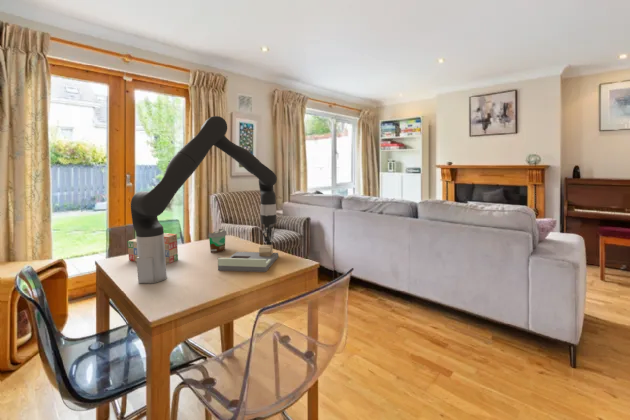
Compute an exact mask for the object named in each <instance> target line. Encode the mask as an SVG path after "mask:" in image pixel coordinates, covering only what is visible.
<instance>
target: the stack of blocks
mask: <svg viewBox="0 0 630 420" xmlns="http://www.w3.org/2000/svg"><path fill="white" fill-rule="evenodd" d="M126 242H127V252H128V253H127V254H128V261H129V260H131V261H130V262H132V261H133V262H137V260H136V258H137V257H138V254H137V241H136V238H133V239H130V240H128V241H126ZM164 245H165V259H166V264H172V263H174V262H177V261H178V260H179V253H178V234H177V233H171V232H169V233H167V232H166V233H165V232H164Z"/></svg>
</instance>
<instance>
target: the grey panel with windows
mask: <svg viewBox="0 0 630 420" xmlns="http://www.w3.org/2000/svg"><path fill="white" fill-rule="evenodd" d="M278 258H279V252H273V254H272V255H271V256H259V251H258V252H255V251H235V253H233V254H231V256H229V257H218V258H217V271H224V272H225V271H228V272H231V271H232V272H258V273H259V272H260V273H261V272H262V273H266V272H267V271H268V270H269V269H270V268H271V266H273V264H274V263H275V262H276V261H277V260H278ZM269 267H270V268H269Z"/></svg>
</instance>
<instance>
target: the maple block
mask: <svg viewBox="0 0 630 420" xmlns="http://www.w3.org/2000/svg"><path fill="white" fill-rule="evenodd" d="M258 252H259V256H271V255H272V254H273V253H274V246H273V244H272V245H267V244H262V245H260V246H258Z"/></svg>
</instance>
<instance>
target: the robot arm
mask: <svg viewBox="0 0 630 420" xmlns="http://www.w3.org/2000/svg"><path fill="white" fill-rule="evenodd" d="M227 132H228V124H227V121H226V119H224V118H223V117H222V116H218V115H214V116H210V117H209V118H207V119H206V120H205V122H203V124H202V125H201V127H200V130H199V131H198V133H197V134H196V135H195V136H194V137H193V138H191V140H190V141H188V142H187V143H186V144H185V145H183V147H182V148H180V149H179V151H178V152H176V154H175V155H173V157H172V158H171V159H170V161H169V163H168V164H167V166H166V169H165V172H164V175H163V177H162V178H161V180H160V181H159V182H158V183H156V185H155V186H154V187H153V188H152V189H151V190H150V191H147V190H146V191H145V190H142V191H138V192H136V193H135V194H134V195H133V196H132V198H131V200H130V214H131V221H132V227H133V230H134V231H135V239H136V241H137V254H138V257H137V258H136V260H137V261H136V273H137V280H138V281H137V283H138V284H156V283H159V282H162V281H165V280H166V279H167V277H168V275H167V265H166V264H167V263H166V259H165V245H164V233H165V232H164V231H165V230H164V226H163V225H162V224H161V223H160V221H159V220H158V216H160V215H162V214H163V213H164V211H165V210H167V207H168V205H169V204H170V202H171V201H172V200H173V198H174V197H175V195H176V194H177V193H178V191H179V190H180V189H181V187H182V186H184V184H185V183H186V182H187V180H189V178H190V177H191V176H192V175H193V174H194V172H195V171H196V170H197V169H198V168H199V166H200V165H201V163H202V162H203V160H204V159H205V158H206V156H207V155H208V153H209V152H210V150H211V149H212V147H213V146H214V147H216V148H217V149H219V150H221V151H222V152H223V153H225V154H226V155H228V156H229V157H230V158H232V159H233V160H235V161H236V162H237V163H238V164H239V165H240V166H242V167H243V168H244V169H245V170H246V171H247V172H248V173H250V174H251V175H253V176H255V177H256V179H258V186H259V192H260V208H259V209H260V210H259V211H260V213H259V215H260V224H261V225H264V227H263V233H262V235H263V240H264V242H266V245H273V239H274V235H275V230H276V229H275V227H274V225H275V224H277V222H278V219H277V218H278V216H277V214H278V213H277V199H276V193H275V190H274V186H275V185H276V183H277V181H278V178H277V175H276V173H275V172H274V171H273V170H271V168H269V167H268V166H267V165H265V164H263V163H262V162H261V161H260V160H259V159H258V158H257V157H256V156H255V155H253V153H251V152H250V151H249V150H247V149H246V148H245V147H242V146H239V145H237V144H236V143H234V142H232V141H231V140H230V139H228V138H227V136H226V134H227Z"/></svg>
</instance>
